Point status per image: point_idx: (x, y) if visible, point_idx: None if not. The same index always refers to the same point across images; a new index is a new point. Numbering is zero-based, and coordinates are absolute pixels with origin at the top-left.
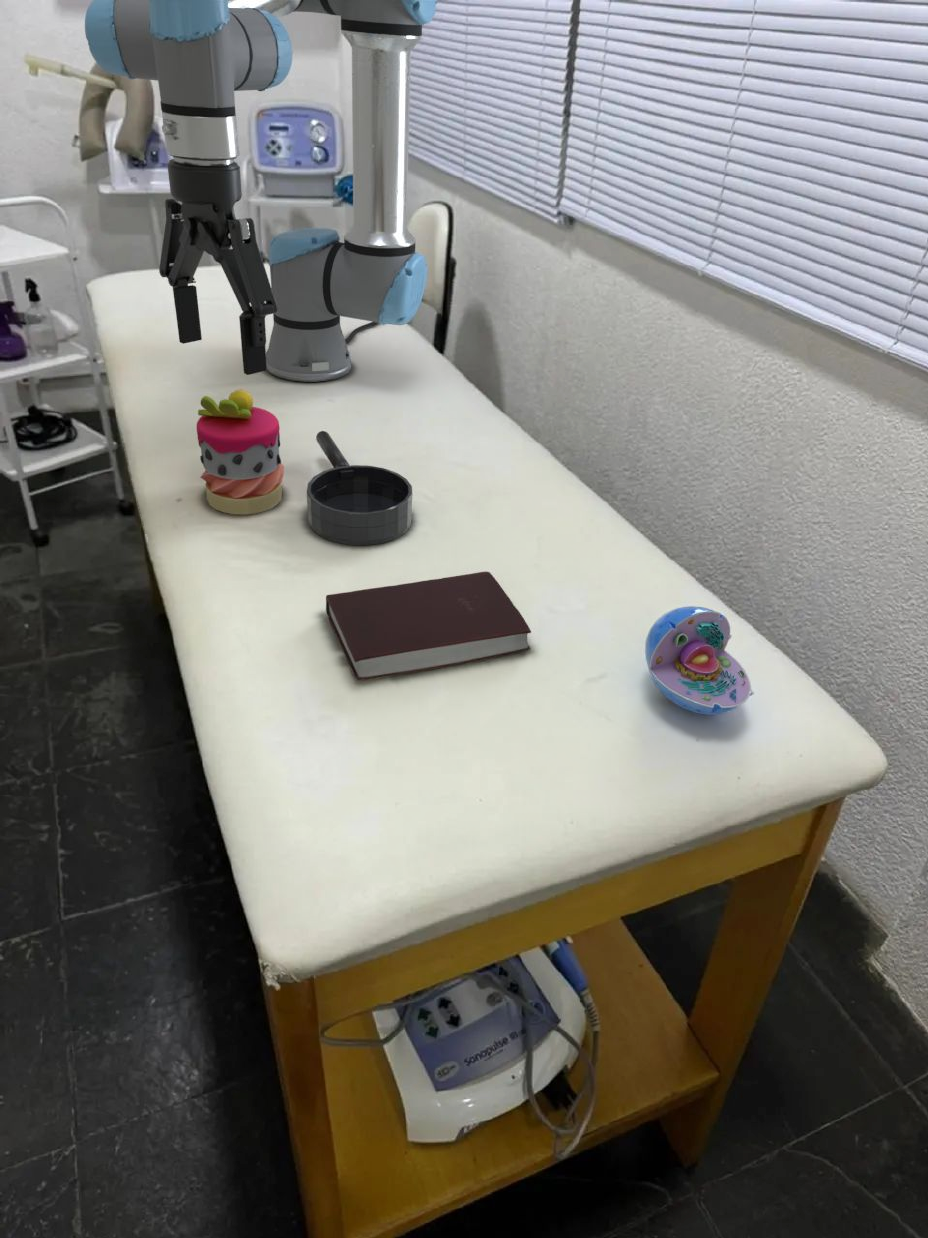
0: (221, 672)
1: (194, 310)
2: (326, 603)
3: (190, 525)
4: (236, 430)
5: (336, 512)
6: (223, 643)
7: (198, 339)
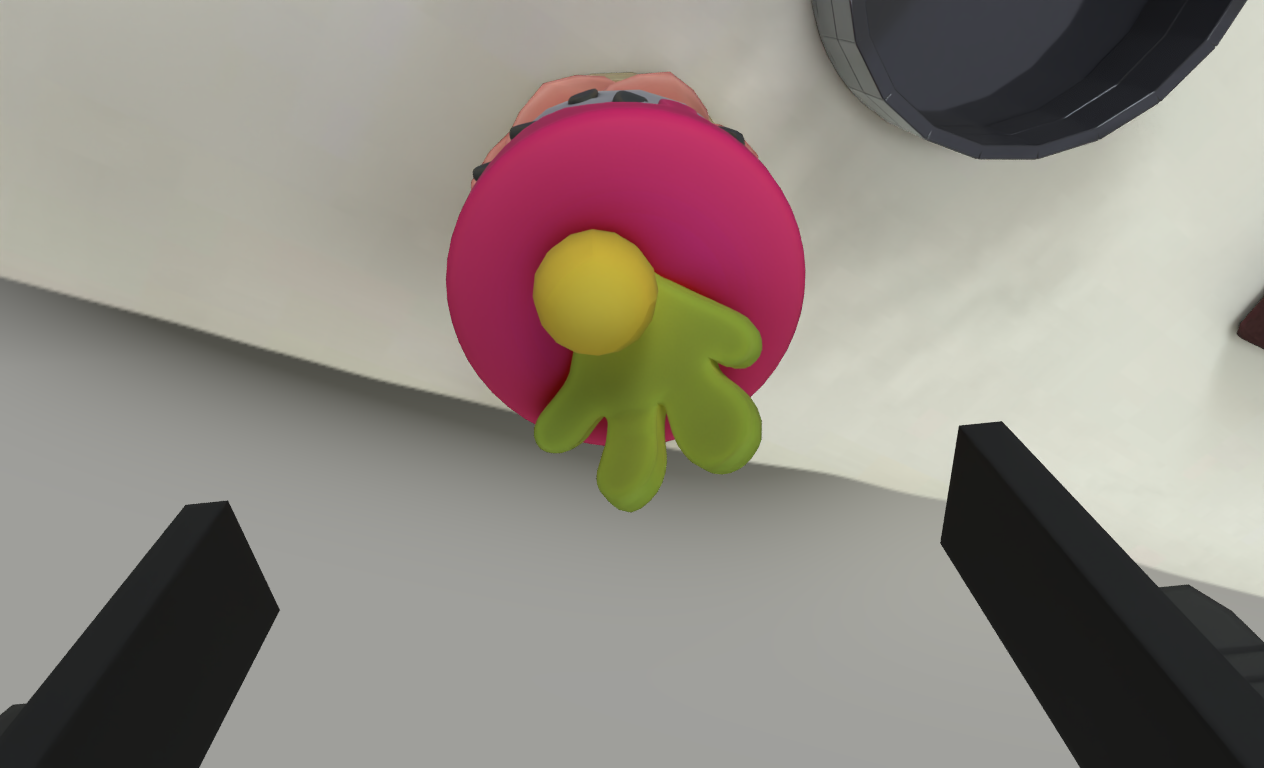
0: (1157, 545)
1: (115, 708)
2: (1257, 345)
3: None
4: (744, 371)
5: (1105, 133)
6: (1102, 515)
7: (235, 526)
